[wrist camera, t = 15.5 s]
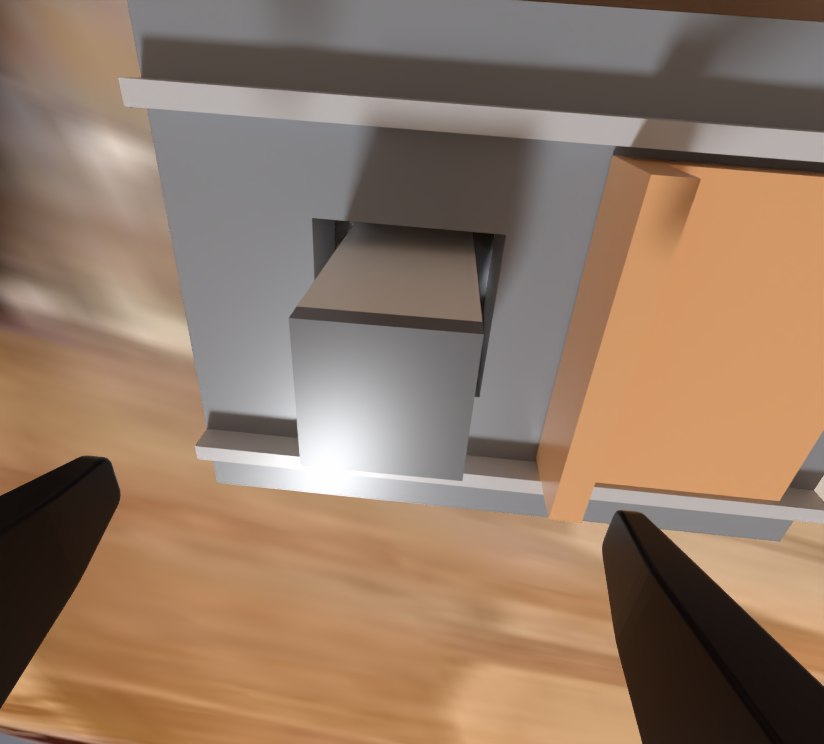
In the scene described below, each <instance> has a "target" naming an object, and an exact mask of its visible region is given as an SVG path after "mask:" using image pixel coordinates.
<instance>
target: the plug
mask: <svg viewBox="0 0 824 744" xmlns="http://www.w3.org/2000/svg"><path fill="white" fill-rule="evenodd" d="M289 329H290V342H291V354H292V367H293V379H294V392H295V404H296V417H297V429H298V442H299V454H300V466H308V467H319V468H329V469H340V470H350V471H361V472H371V473H382V474H392V475H403V476H414V477H424V478H435V479H445V480H456V481H462V480H463V473H464V466H465V460H466V453H467V446H468V439H469V432H470V425H471V418H472V412H473V405H474V398H475V391H476V384H477V377H478V370H479V364H480V357H481V350H482V343H483V336H484V332H483V323H482V314H481V304H480V295H479V286H478V277H477V268H476V258H475V249H474V240H473V232H468V231H456V230H445V229H433V228H421V227H410V226H398V225H387V224H375V223H364V222H355V223H354V225H353V226H352V227H351V229H350V230H349V232H348V233H347V235H346V236H345V237H344V239H343V240H342V242H341V243H340V245H339V246H338V248H337V249H336V250H335V252H334V253H333V255H332V256H331V258H330V259H329V261H328V262H327V263H326V265H325V266H324V268H323V269H322V271H321V272H320V273H319V275H318V276H317V278H316V279H315V281H314V282H313V284H312V285H311V286H310V288H309V289H308V291H307V292H306V294H305V295H304V297H303V298H302V299H301V301H300V302H299V304H298V305H297V307H296V308H295V310H294V311H293V312H292V314H291V315H290V317H289Z"/></svg>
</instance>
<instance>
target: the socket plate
mask: <svg viewBox="0 0 824 744" xmlns="http://www.w3.org/2000/svg"><path fill="white" fill-rule="evenodd" d="M127 3H128V9H129V14H130V19H131V25H132V30H133V35H134V41H135V46H136V51H137V57H138V62H139V67H140V73H141V77H138V78H118V79H119V83H120V88H121V93H122V98H123V103H124V106H127V107H139V108H147V110H148V116H149V121H150V126H151V132H152V137H153V142H154V148H155V153H156V158H157V164H158V169H159V174H160V180H161V185H162V190H163V196H164V201H165V206H166V212H167V217H168V223H169V228H170V233H171V239H172V244H173V249H174V255H175V260H176V265H177V271H178V276H179V281H180V287H181V292H182V297H183V303H184V308H185V313H186V319H187V324H188V330H189V335H190V340H191V346H192V351H193V356H194V362H195V367H196V372H197V378H198V383H199V388H200V394H201V399H202V404H203V410H204V415H205V420H206V426H207V430H206V431H205V432H204V434H203V435H202V437H201V438H200V440H199V441H198V442H197V444H196V445H195V449H196V454H197V459H202V460H211V461H213V463H214V469H215V474H216V479H217V483H225V484H234V485H244V486H254V487H263V488H273V489H282V490H292V491H301V492H311V493H320V494H330V495H340V496H349V497H359V498H368V499H378V500H387V501H397V502H406V503H416V504H426V505H435V506H445V507H454V508H464V509H473V510H483V511H492V512H502V513H512V514H521V515H531V516H540V517H548V514H547V509H546V504H545V499H544V495H543V490H542V485H541V480H540V475H539V471H538V466H537V461H536V454H537V450H538V446H539V443H540V439H541V435H542V431H543V427H544V423H545V419H546V415H547V411H548V407H549V403H550V399H551V395H552V391H553V387H554V384H555V380H556V376H557V372H558V368H559V364H560V360H561V356H562V352H563V348H564V344H565V340H566V336H567V332H568V329H569V325H570V321H571V317H572V313H573V309H574V305H575V301H576V297H577V293H578V289H579V285H580V281H581V277H582V273H583V270H584V266H585V262H586V258H587V254H588V250H589V246H590V242H591V238H592V234H593V230H594V226H595V222H596V218H597V214H598V211H599V207H600V203H601V199H602V195H603V191H604V187H605V183H606V179H607V175H608V171H609V167H610V163H611V159H612V156H613V155H616V156H628V157H641V158H653V159H666V160H678V161H690V162H703V163H715V164H727V165H740V166H752V167H765V168H777V169H789V170H802V171H814V172H824V22H815V21H800V20H786V19H772V18H758V17H744V16H730V15H716V14H702V13H688V12H674V11H660V10H646V9H632V8H618V7H604V6H590V5H576V4H562V3H548V2H534V1H520V0H127ZM335 220H341V221H352V222H364V223H375V224H387V225H398V226H410V227H421V228H433V229H445V230H456V231H468V232H479V233H491V234H495V236H494V243H493V249H492V256H491V262H490V269H489V276H488V282H487V289H486V295H485V302H484V308H483V315H482V323H483V332H484V336H483V343H482V350H481V357H480V364H479V370H478V377H477V384H476V391H475V398H474V405H473V412H472V418H471V425H470V432H469V439H468V446H467V453H466V460H465V466H464V473H463V480H462V481H456V480H445V479H435V478H424V477H414V476H403V475H392V474H382V473H371V472H361V471H350V470H340V469H329V468H319V467H308V466H300V454H299V442H298V429H297V417H296V404H295V392H294V379H293V367H292V354H291V342H290V329H289V317H290V315H291V314H292V312H293V311H294V310H295V308H296V307H297V305H298V304H299V302H300V301H301V299H302V298H303V297H304V295H305V294H306V292H307V291H308V289H309V288H310V286H311V285H312V284H313V282H314V281H315V279H316V278H317V276H318V275H319V273H320V272H321V271H322V269H323V268H324V266H325V265H326V263H327V262H328V261H329V259H330V258H331V256H332V255H333V253H334V252H335ZM823 475H824V430H823V432H822V434H821V435H820V437H819V438H818V440H817V442H816V443H815V445H814V446H813V448H812V450H811V451H810V453H809V454H808V456H807V458H806V459H805V461H804V462H803V464H802V466H801V467H800V469H799V470H798V472H797V474H796V475H795V477H794V478H793V480H792V482H791V483H790V485H789V486H788V488H787V490H786V491H785V493H784V494H783V496H782V498H781V499H780V501H773V500H763V499H753V498H743V497H733V496H724V495H714V494H704V493H694V492H684V491H675V490H665V489H655V488H645V487H635V486H626V485H616V484H606V483H595V485H594V488H593V491H592V494H591V497H590V500H589V503H588V506H587V508H586V511H585V514H584V517H583V520H582V521H588V522H598V523H607V524H610V522H611V520H612V517H613V515H614V513H615V512H616V511H618V510H628V511H638V512H641V513H643V514H644V515H645V516H646V517H648V518H649V519H650V520H651V521H652V522H653V523H654V524H655V525H656V526H657V527H658V528H659V529H664V530H674V531H684V532H693V533H703V534H712V535H722V536H731V537H741V538H750V539H760V540H770V541H779V542H780V540H781V539H782V537H783V536H784V534H785V533H786V531H787V530H788V528H789V527H790V525H791V524H792V522H793V521H802V522H812V523H822V524H823V523H824V501H823V500H822V499H821V498H820V497H819V496H818V495H817V493H816V492H815V491H814V489H815V488H816V486H817V485H818V483H819V482H820V480H821V479H822V477H823Z"/></svg>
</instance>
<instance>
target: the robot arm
mask: <svg viewBox="0 0 824 744" xmlns="http://www.w3.org/2000/svg"><path fill="white" fill-rule="evenodd" d="M119 500H120V488H119V485H118V482H117V479H116V476H115V472H114V469H113V466H112V463H111V462H110V461H109V460H108V459H107V458H105V457H97V456H81V457H79V458H77V459H75V460H73V461H71V462H69V463H67V464H65V465H63V466H60V467H58V468H56V469H54V470H52V471H50V472H48V473H46V474H44V475H42V476H40V477H38V478H36V479H34V480H32V481H30V482H28V483H26V484H24V485H22V486H20V487H18V488H16V489H13V490H11V491H9V492H7V493H5V494H3V495H1V496H0V709H1V707H2V705H3V704H4V702H5V701H6V699H7V697H8V696H9V694H10V693H11V691H12V689H13V688H14V686H15V685H16V683H17V681H18V680H19V678H20V677H21V675H22V673H23V672H24V670H25V669H26V667H27V665H28V664H29V662H30V661H31V659H32V658H33V656H34V654H35V653H36V651H37V650H38V648H39V646H40V645H41V643H42V642H43V640H44V638H45V637H46V635H47V634H48V632H49V630H50V629H51V627H52V626H53V624H54V622H55V621H56V619H57V618H58V616H59V614H60V613H61V611H62V610H63V608H64V606H65V605H66V603H67V602H68V600H69V598H70V597H71V595H72V593H73V592H74V590H75V588H76V587H77V585H78V583H79V582H80V580H81V578H82V576H83V574H84V572H85V570H86V568H87V566H88V564H89V562H90V560H91V558H92V556H93V554H94V552H95V550H96V548H97V546H98V544H99V542H100V540H101V538H102V536H103V534H104V532H105V530H106V528H107V526H108V524H109V522H110V520H111V518H112V516H113V514H114V512H115V510H116V508H117V506H118V504H119ZM602 554H603V562H604V568H605V575H606V581H607V588H608V595H609V601H610V608H611V614H612V621H613V628H614V633H615V639H616V644H617V648H618V652H619V657H620V660H621V664H622V668H623V672H624V676H625V679H626V683H627V687H628V691H629V695H630V698H631V702H632V706H633V710H634V713H635V717H636V721H637V725H638V729H639V732H640V736H641V740H642V744H824V686H823V685H822V684H821V683H820V682H819V681H818V680H817V679H816V678H815V677H814V676H813V675H811V674H810V673H809V672H808V671H807V670H806V669H805V668H804V667H803V666H802V665H801V664H800V663H799V662H798V661H797V660H796V659H795V658H794V657H793V656H792V655H791V654H790V653H789V652H787V651H786V650H785V649H784V648H783V647H782V646H781V645H780V644H779V643H778V642H777V641H776V640H775V639H774V638H773V637H772V636H771V635H770V634H769V633H768V632H767V631H766V630H764V629H763V628H762V627H761V626H760V625H759V624H758V623H757V622H756V621H755V620H754V619H753V618H752V617H751V616H750V615H749V614H748V613H747V612H746V611H745V610H744V609H743V608H742V607H740V606H739V605H738V604H737V603H736V602H735V601H734V600H733V599H732V598H731V597H730V596H729V595H728V594H727V593H726V592H725V591H724V590H723V589H722V588H721V587H720V586H719V585H717V584H716V583H715V582H714V581H713V580H712V579H711V578H710V577H709V576H708V575H707V574H706V573H705V572H704V571H703V570H702V569H701V568H700V567H699V566H698V565H697V564H696V563H695V562H693V561H692V560H691V559H690V558H689V557H688V556H687V555H686V554H685V553H684V552H683V551H682V550H681V549H680V548H679V547H678V546H677V545H676V544H675V543H674V542H673V541H672V540H671V539H669V538H668V537H667V536H666V535H665V534H664V533H663V532H662V531H661V530H660V529H659V528H658V527H657V526H656V525H655V524H654V523H653V522H652V521H651V520H650V519H649V518H648V517H646V516H645V515H644V514H643V513H641V512H638V511H628V510H618V511H616V512H615V513H614V515H613V517H612V520H611V522H610V525H609V528H608V530H607V533H606V535H605V538H604V541H603V546H602Z"/></svg>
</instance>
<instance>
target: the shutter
mask: <svg viewBox="0 0 824 744" xmlns="http://www.w3.org/2000/svg"><path fill="white" fill-rule="evenodd" d="M823 430H824V172H814V171H802V170H789V169H777V168H765V167H752V166H740V165H727V164H715V163H703V162H690V161H678V160H666V159H653V158H641V157H628V156H616V155H613V156H612V159H611V163H610V167H609V171H608V175H607V179H606V183H605V187H604V191H603V195H602V199H601V203H600V207H599V211H598V214H597V218H596V222H595V226H594V230H593V234H592V238H591V242H590V246H589V250H588V254H587V258H586V262H585V266H584V270H583V273H582V277H581V281H580V285H579V289H578V293H577V297H576V301H575V305H574V309H573V313H572V317H571V321H570V325H569V329H568V332H567V336H566V340H565V344H564V348H563V352H562V356H561V360H560V364H559V368H558V372H557V376H556V380H555V384H554V387H553V391H552V395H551V399H550V403H549V407H548V411H547V415H546V419H545V423H544V427H543V431H542V435H541V439H540V443H539V446H538V450H537V454H536V461H537V466H538V471H539V475H540V480H541V485H542V490H543V495H544V499H545V504H546V509H547V514H548V519H549V520H558V521H567V522H577V523H582V520H583V517H584V514H585V511H586V508H587V506H588V503H589V500H590V497H591V494H592V491H593V488H594V485H595V483H606V484H616V485H626V486H635V487H645V488H655V489H665V490H675V491H684V492H694V493H704V494H714V495H724V496H733V497H743V498H753V499H763V500H773V501H780V499H781V498H782V496H783V494H784V493H785V491H786V490H787V488H788V486H789V485H790V483H791V482H792V480H793V478H794V477H795V475H796V474H797V472H798V470H799V469H800V467H801V466H802V464H803V462H804V461H805V459H806V458H807V456H808V454H809V453H810V451H811V450H812V448H813V446H814V445H815V443H816V442H817V440H818V438H819V437H820V435H821V434H822V432H823Z"/></svg>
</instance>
